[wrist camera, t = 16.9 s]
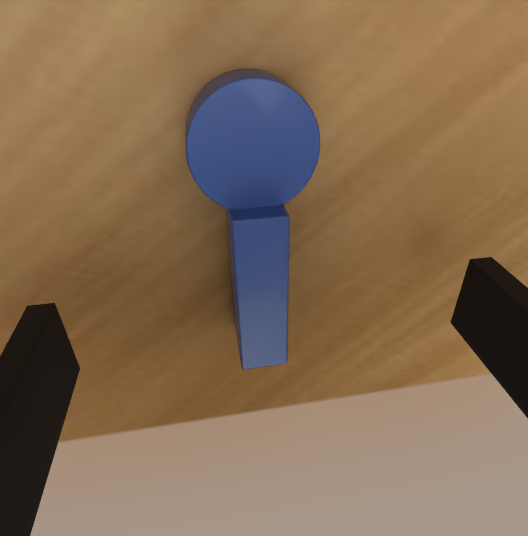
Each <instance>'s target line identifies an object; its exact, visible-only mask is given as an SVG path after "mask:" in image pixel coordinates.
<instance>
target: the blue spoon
mask: <svg viewBox="0 0 528 536" xmlns="http://www.w3.org/2000/svg"><path fill="white" fill-rule="evenodd" d="M319 151H320V134H319V128H318V124H317V120H316V118H315V116H314V113H313V111H312V110H311V108H310V106H309V105H308V103H307V102H306V101H305V100H304V98H303V97H302V96H301V95H300V94H298V93H297V92H296V91H295V90H294V89H293V88H291V87H290V86H289V85H287V84H286V83H285V82H284V81H282V80H281V79H279V78H278V77H276V76H274V75H272V74H270V73H267V72H264V71H261V70H255V69H239V70H234V71H230V72H227V73H225V74H222V75H220V76H218V77H217V78H215V79H213V80H212V81H211V82H209V83H208V84H207V85H206V86H205V87H204V88H203V89H202V90H201V91H200V92H199V94H198V95H197V97H196V98H195V100H194V102H193V104H192V106H191V108H190V111H189V114H188V118H187V123H186V157H187V162H188V166H189V169H190V172H191V174H192V176H193V178H194V180H195V182H196V183H197V185H198V186H199V188H200V189H201V190H202V191H203V192H204V193H205V194H206V195H207V196H208V197H209V198H210V199H211V200H213V201H214V202H216V203H217V204H219V205H221V206H223V207H225V208H226V216H227V229H228V241H229V254H230V266H231V278H232V291H233V303H234V316H235V327H236V334H237V340H238V347H239V353H240V360H241V366H242V369H251V368H258V367H266V366H273V365H280V364H286V363H287V354H288V275H289V215H288V213H287V211H286V209H285V207H284V205H283V204H285V203H287V202H288V201H290V200H291V199H292V198H294V197H295V196H296V195H297V194H298V193H299V192H300V191H301V190H302V189H303V188H304V187H305V186H306V184H307V183H308V181H309V180H310V178H311V176H312V174H313V172H314V170H315V167H316V165H317V161H318V157H319Z"/></svg>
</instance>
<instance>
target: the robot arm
mask: <svg viewBox="0 0 528 536" xmlns="http://www.w3.org/2000/svg"><path fill="white" fill-rule="evenodd" d="M451 324H452V325H453V326H454V327H455V329H456V330H457V331H458V332H459V334H460V335H461V336H462V337H463V339H464V340H465V341H466V342H467V344H468V345H469V346H470V347H471V349H472V350H473V351H474V352H475V354H476V355H477V356H478V357H479V358H480V360H481V361H482V362H483V363H484V365H485V366H486V367H487V368H488V370H489V371H490V372H491V373H492V375H493V376H494V377H495V378H496V379H497V381H498V382H499V383H500V384H501V386H502V387H503V388H504V389H505V391H506V392H507V393H508V394H509V396H510V397H511V398H512V399H513V401H514V402H515V403H516V404H517V406H518V407H519V408H520V409H521V410H522V412H523V413H524V414H525V415H526V417H527V418H528V288H527V287H526V286H525V285H523V284H522V283H521V282H520V281H519V280H518V279H516V278H515V277H514V276H513V275H512V274H511V273H509V272H508V271H507V270H506V269H505V268H504V267H502V266H501V265H500V264H499V263H498V262H496V261H495V260H494V259H493V258H492V257H487V258H478V259H470V261H469V264H468V267H467V270H466V274H465V277H464V280H463V284H462V287H461V290H460V293H459V297H458V300H457V303H456V306H455V310H454V313H453V316H452V319H451ZM79 370H80V367H79V364H78V361H77V359H76V356H75V354H74V351H73V349H72V346H71V344H70V341H69V338H68V336H67V333H66V331H65V328H64V326H63V323H62V320H61V318H60V315H59V313H58V310H57V308H56V305H55V303H50V304H40V305H31V306H27V307H26V309H25V311H24V313H23V315H22V317H21V319H20V320H19V322H18V324H17V326H16V328H15V330H14V332H13V334H12V335H11V337H10V339H9V341H8V343H7V345H6V347H5V349H4V350H3V352H2V354H1V356H0V536H30V534H31V531H32V527H33V524H34V521H35V517H36V514H37V511H38V507H39V504H40V501H41V497H42V494H43V490H44V487H45V484H46V480H47V477H48V474H49V471H50V467H51V464H52V461H53V457H54V454H55V450H56V447H57V444H58V440H59V437H60V434H61V430H62V427H63V424H64V420H65V417H66V414H67V410H68V407H69V404H70V400H71V397H72V394H73V390H74V387H75V384H76V380H77V377H78V374H79Z"/></svg>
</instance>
